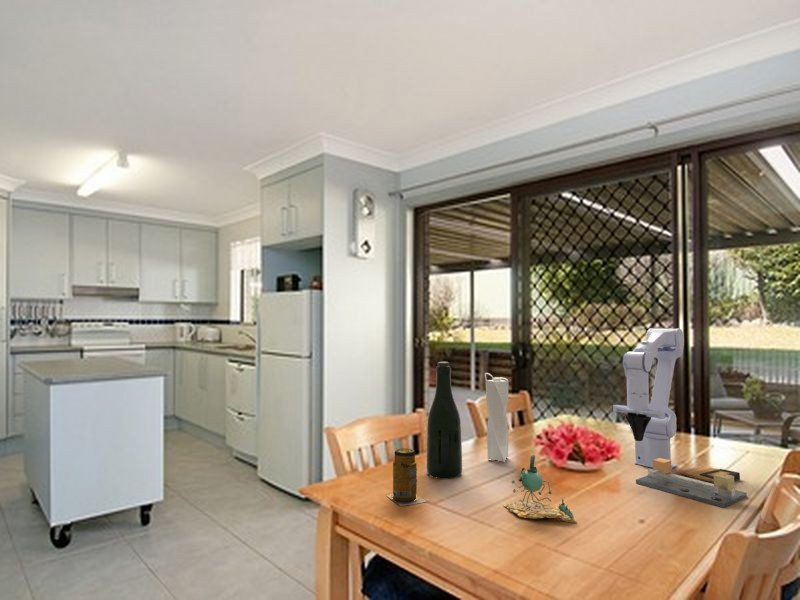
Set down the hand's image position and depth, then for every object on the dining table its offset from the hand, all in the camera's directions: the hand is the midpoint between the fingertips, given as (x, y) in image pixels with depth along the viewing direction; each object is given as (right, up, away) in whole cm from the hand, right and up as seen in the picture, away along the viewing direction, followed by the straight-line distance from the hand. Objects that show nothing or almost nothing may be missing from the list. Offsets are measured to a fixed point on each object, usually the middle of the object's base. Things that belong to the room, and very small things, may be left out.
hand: (638, 440), depth 142 cm
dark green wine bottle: (-56, -11, +3) cm, 57 cm away
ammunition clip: (+22, -9, -6) cm, 25 cm away
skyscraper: (-37, -12, +18) cm, 43 cm away
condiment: (-68, -10, -17) cm, 71 cm away
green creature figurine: (-37, -10, -28) cm, 47 cm away
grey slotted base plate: (+8, -10, -11) cm, 17 cm away
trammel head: (+3, -8, -6) cm, 11 cm away
